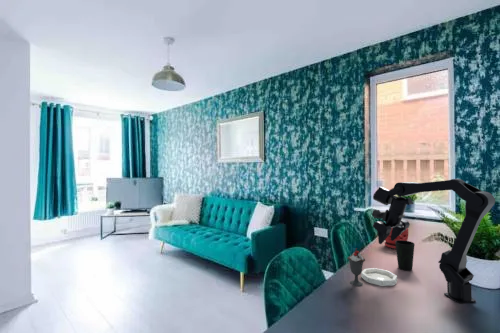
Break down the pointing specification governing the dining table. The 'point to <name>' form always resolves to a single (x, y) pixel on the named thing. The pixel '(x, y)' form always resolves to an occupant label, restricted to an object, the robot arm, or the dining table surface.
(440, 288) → the dining table surface
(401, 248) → the cup
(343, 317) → the dining table surface
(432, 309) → the dining table surface
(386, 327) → the dining table surface
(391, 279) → the dish
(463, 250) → the robot arm
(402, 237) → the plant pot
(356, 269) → the sundae
